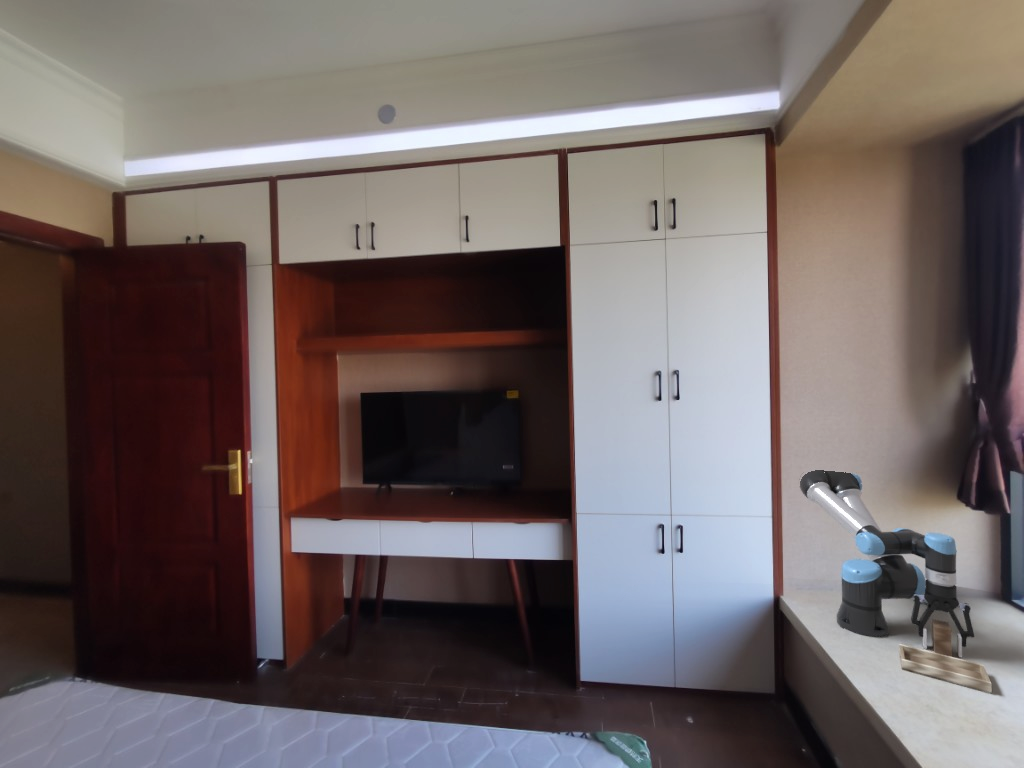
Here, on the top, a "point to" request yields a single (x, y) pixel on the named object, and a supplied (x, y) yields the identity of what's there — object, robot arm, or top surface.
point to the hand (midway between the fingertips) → (941, 650)
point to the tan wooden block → (941, 637)
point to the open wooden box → (945, 668)
